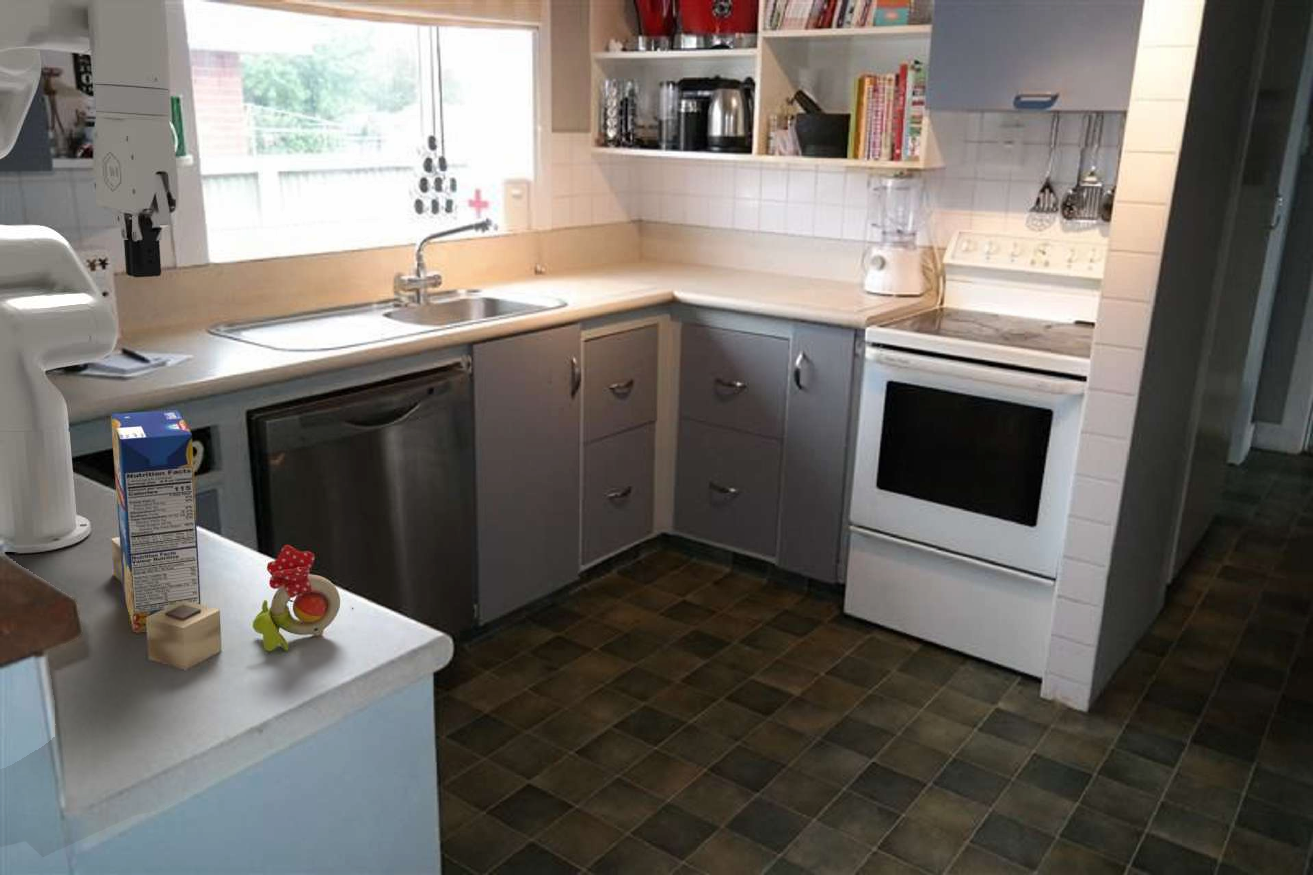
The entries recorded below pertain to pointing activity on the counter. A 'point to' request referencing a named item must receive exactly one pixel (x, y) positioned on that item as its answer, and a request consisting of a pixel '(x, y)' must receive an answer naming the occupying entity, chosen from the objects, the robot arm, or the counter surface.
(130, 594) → the beverage box
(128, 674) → the counter surface
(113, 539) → the marked oak block far
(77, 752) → the counter surface
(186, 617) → the marked oak block near
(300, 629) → the bird rattle
